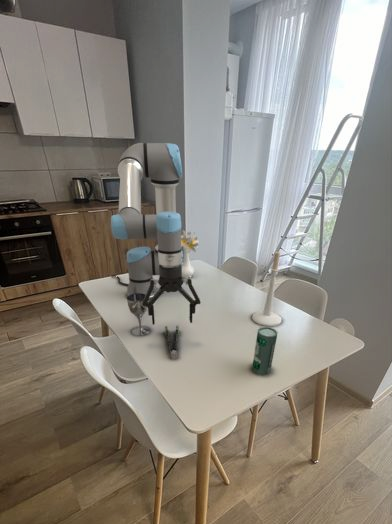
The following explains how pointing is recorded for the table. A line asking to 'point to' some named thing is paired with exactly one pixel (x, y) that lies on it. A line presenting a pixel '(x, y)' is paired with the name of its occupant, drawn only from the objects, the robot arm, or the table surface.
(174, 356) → the tongs
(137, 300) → the wine glass
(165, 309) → the table surface
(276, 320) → the candlestick
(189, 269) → the flower vase
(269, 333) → the can
